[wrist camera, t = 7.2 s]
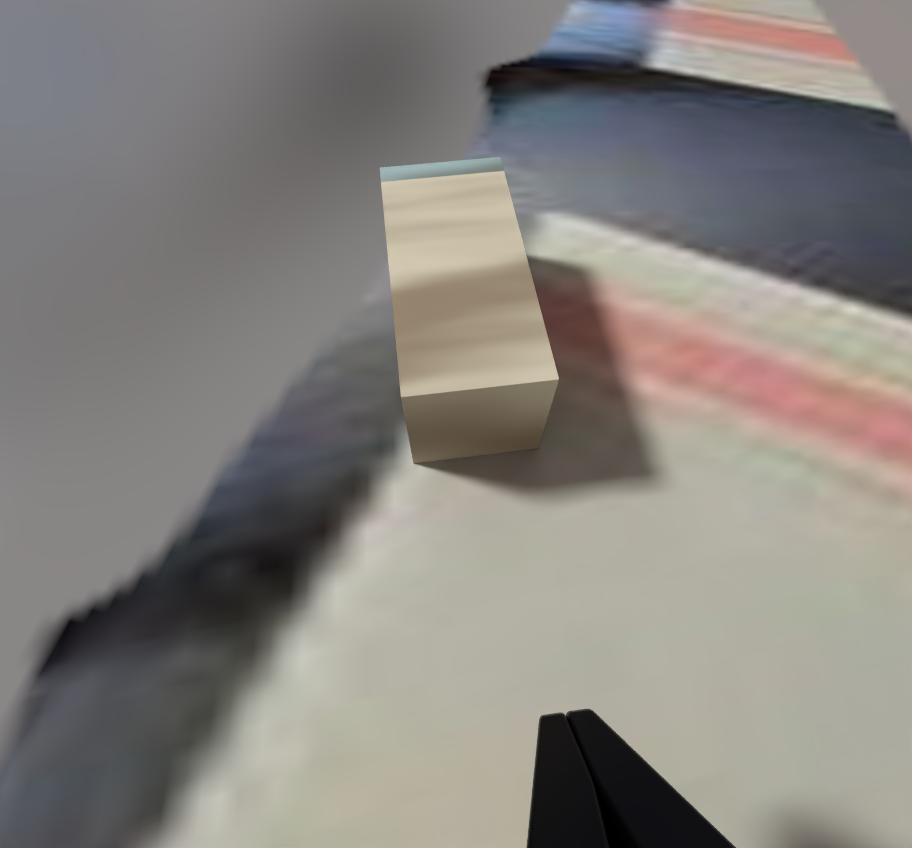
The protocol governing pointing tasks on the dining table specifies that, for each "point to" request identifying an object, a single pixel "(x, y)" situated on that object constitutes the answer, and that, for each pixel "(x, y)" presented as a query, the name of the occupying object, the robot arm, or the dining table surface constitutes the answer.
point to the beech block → (464, 312)
